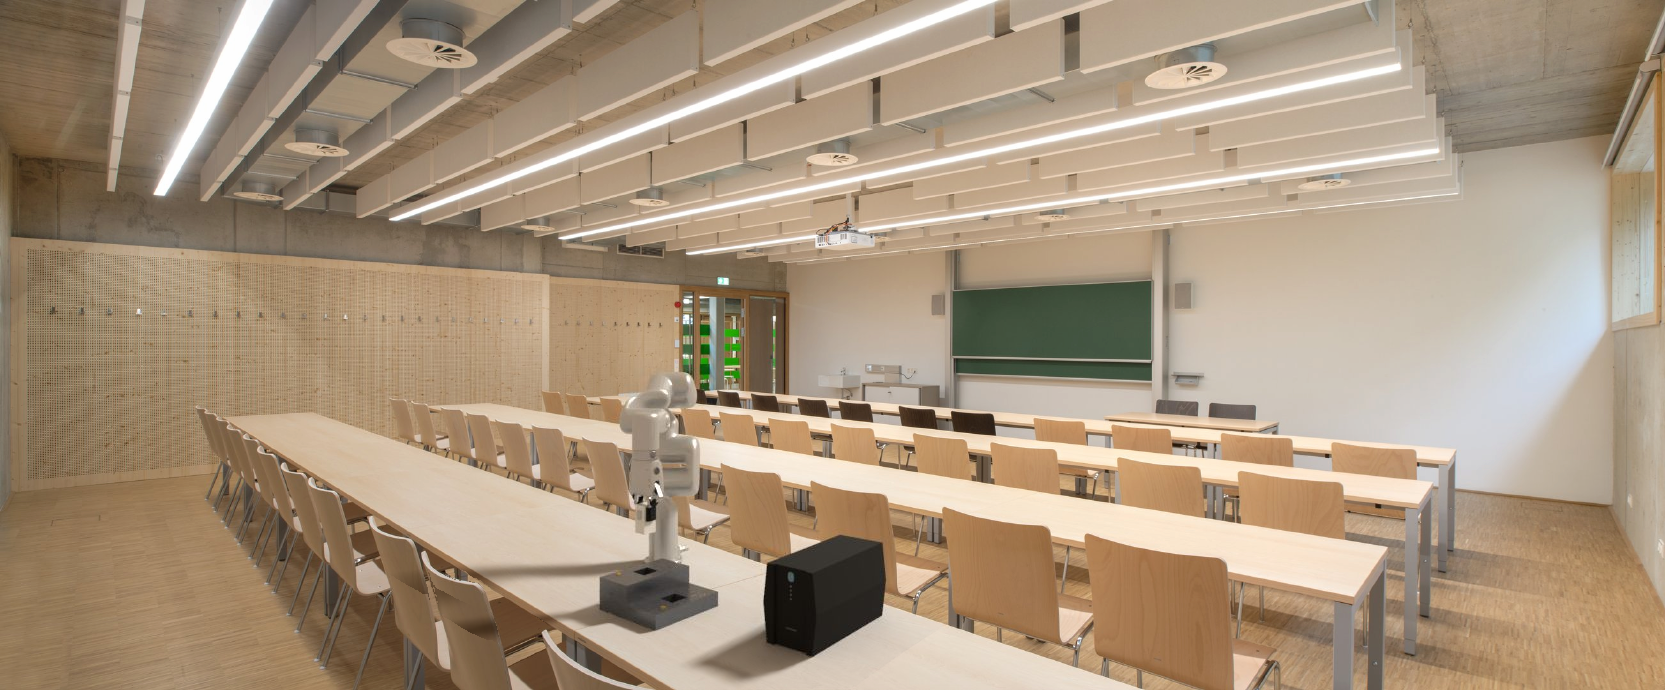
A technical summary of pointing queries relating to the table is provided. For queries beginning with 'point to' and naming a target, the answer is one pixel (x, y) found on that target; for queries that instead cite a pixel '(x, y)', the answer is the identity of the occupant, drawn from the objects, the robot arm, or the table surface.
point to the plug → (643, 520)
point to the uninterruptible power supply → (823, 593)
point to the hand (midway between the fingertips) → (645, 518)
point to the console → (654, 594)
